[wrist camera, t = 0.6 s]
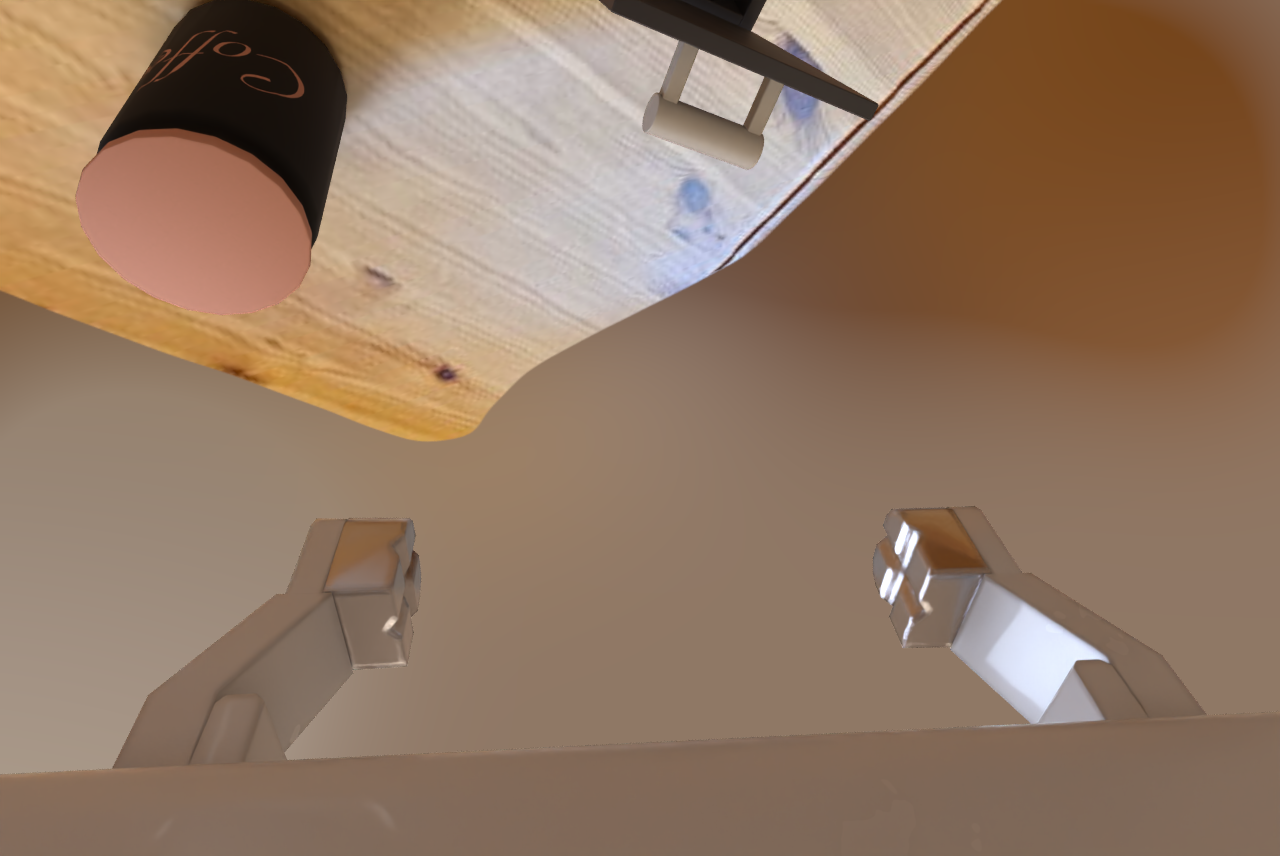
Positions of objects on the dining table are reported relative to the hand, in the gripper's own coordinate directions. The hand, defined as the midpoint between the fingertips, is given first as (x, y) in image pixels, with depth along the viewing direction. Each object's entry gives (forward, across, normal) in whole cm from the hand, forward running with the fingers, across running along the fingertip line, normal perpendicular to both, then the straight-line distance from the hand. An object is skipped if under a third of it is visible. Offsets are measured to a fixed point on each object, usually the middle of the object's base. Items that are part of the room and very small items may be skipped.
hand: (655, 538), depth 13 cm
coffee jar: (+48, +21, +4) cm, 52 cm away
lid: (+29, -5, -4) cm, 30 cm away
